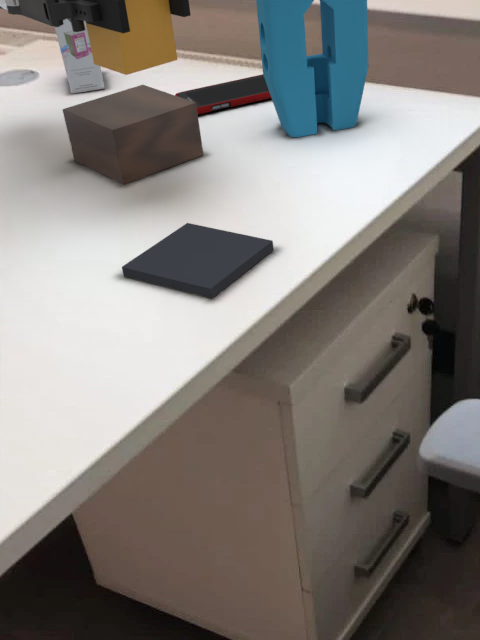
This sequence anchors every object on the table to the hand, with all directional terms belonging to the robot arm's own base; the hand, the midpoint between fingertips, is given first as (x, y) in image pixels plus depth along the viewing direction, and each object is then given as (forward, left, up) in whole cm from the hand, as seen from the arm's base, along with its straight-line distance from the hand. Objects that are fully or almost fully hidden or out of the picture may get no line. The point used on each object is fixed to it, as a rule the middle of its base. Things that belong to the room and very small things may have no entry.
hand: (154, 8), depth 80 cm
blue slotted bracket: (+11, +23, -19) cm, 32 cm away
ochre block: (-4, +3, -6) cm, 8 cm away
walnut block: (-9, +13, -19) cm, 25 cm away
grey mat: (+5, -13, -19) cm, 23 cm away
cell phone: (-2, +34, -19) cm, 39 cm away
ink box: (-26, +42, -19) cm, 53 cm away
